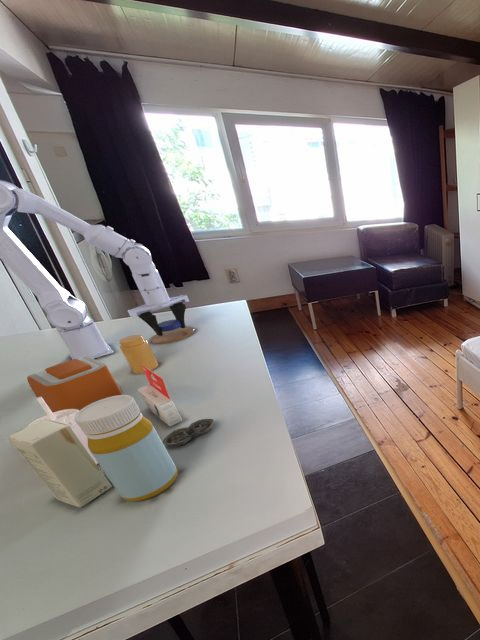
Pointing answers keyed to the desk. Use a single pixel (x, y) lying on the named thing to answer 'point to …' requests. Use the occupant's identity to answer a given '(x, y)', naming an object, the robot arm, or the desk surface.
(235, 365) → the desk surface
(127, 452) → the bottle
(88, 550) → the desk surface
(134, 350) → the jar
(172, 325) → the lid
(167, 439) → the corroded twin loop
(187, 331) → the coaster
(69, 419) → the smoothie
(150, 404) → the ink cartridge box
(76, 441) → the cosmetic box
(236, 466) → the desk surface
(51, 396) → the alarm clock
